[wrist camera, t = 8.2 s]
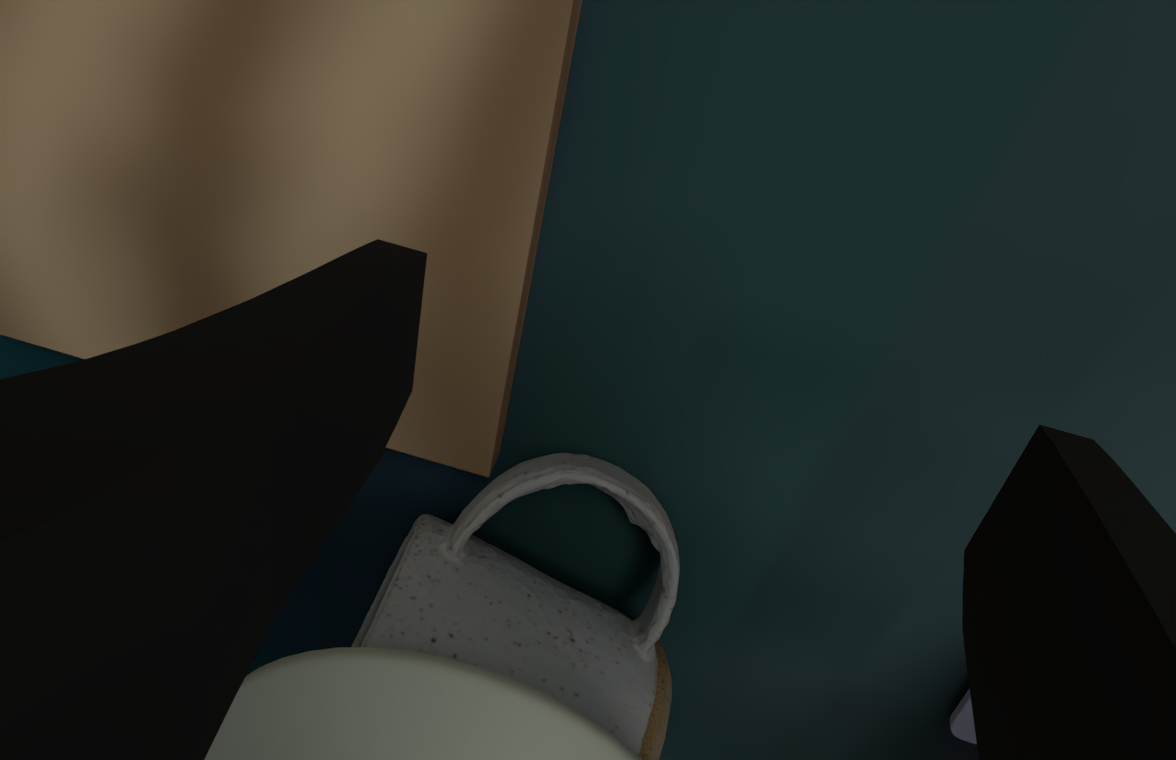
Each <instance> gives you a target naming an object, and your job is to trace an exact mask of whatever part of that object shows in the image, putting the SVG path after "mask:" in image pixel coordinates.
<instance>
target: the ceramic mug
mask: <svg viewBox="0 0 1176 760" xmlns="http://www.w3.org/2000/svg"><path fill="white" fill-rule="evenodd" d="M584 483H587V484H589V485H593V486H595V487H596V488H598V489H600V490H601V491H603V492H605V493H607V494H608V495H610V496H612V497H613V498H614V499H616V500H617V501H618V502H619V503H620V504H621V505H622V506H623V507H624V510H625V512H626V514H627V516H628V518H629V520H630V522H631V523H633V524H636V525H638V526H640V527H641V528H642V529H644V530H645V531H646V532H647V534H648V536H649V538H650V541H651V543H652V544H653V545H654V547H655V548H656V549H657V550H658V551H659V552H660V557H661V563H660V567H659V569H658V574H657V581H656V583H655V586H654V588H653V591H652V593H651V596H650V599H649V601H648V603H647V605H646V607H645V608H644V610H643V612H642V614H641V615H640V616H639V617H638V618H637V619H636V620H633V621H632V620H631V619H629V618H628V617H627V616H625V615H624V614H622V613H621V612H619V611H617V610H616V609H614V608H612V607H610V606H608V605H606V604H604V603H602V602H600V601H598V600H596V599H594V598H592V597H590V596H588V595H586V594H584V593H582V592H580V591H578V590H576V589H574V588H571V587H569V586H567V585H565V584H563V583H561V582H559V581H557V580H555V579H553V578H551V577H549V576H547V575H546V574H544V573H542V572H540V571H539V570H537V569H535V568H533V567H532V566H530V565H528V564H526V563H525V562H523V561H521V560H519V559H517V558H515V557H514V556H512V555H510V554H508V553H506V552H504V551H502V550H501V549H499V548H497V547H495V546H493V545H491V544H488V543H486V542H485V541H483V540H481V539H479V538H478V537H476V536H474V535H472V533H473V532H474V531H476V530H477V529H478V528H480V527H481V526H482V525H483V524H484V522H485V521H486V520H488V519H489V518H490V517H491V516H493V515H494V514H495V513H496V512H497V511H499V510H500V509H501V508H502V507H503V506H505V505H506V504H507V503H509V502H511V501H513V500H514V499H516V498H518V497H521V496H524V495H527V494H530V493H533V492H536V491H538V490H541V489H550V488H554V487H556V486H559V485H561V484H584ZM679 571H680V566H679V554H678V546H677V542H676V539H675V536H674V531H673V528H672V526H671V523H670V521H669V518H668V516H667V513H666V512H665V510H664V509H663V507H662V506H661V504H660V503H659V502H658V500H657V499H656V497H655V496H654V495H653V493H652V492H651V491H650V489H649V488H647V487H646V486H645V485H644V484H643V483H642V482H641V481H639V480H638V479H636V478H635V477H633V476H632V475H630V474H629V473H627V472H626V471H624V470H623V469H621V468H620V467H618V466H615V465H613V464H611V463H608V462H606V461H603V460H601V459H598V458H595V457H593V456H590V455H584V454H575V453H555V454H549V455H545V456H541V457H537V458H533V459H529V460H526V461H524V462H521V463H519V464H517V465H516V466H514V467H512V468H510V469H509V470H507V471H506V472H504V473H503V474H501V475H499V476H498V477H496V478H495V479H494V480H493V481H492V482H491V483H490V484H488V485H487V486H486V487H485V488H484V489H483V490H482V491H481V492H480V493H479V494H478V495H477V496H476V497H475V498H474V499H473V500H472V501H471V502H470V503H469V504H468V506H467V507H466V508H465V509H464V510H463V511H462V512H461V514H460V515H459V517H458V518H457V520H456V522H455V523H454V524H451V523H448V522H446V521H444V520H442V519H440V518H437V517H435V516H432V515H430V514H422V515H421V516H420V517H419V518H417V519H416V521H415V522H414V523H413V526H412V529H411V531H410V532H409V534H408V536H407V537H406V538H405V540H404V542H403V544H402V546H401V548H400V550H399V552H398V554H397V556H396V558H395V560H394V562H393V564H392V565H391V567H390V568H389V570H388V572H387V575H386V578H385V580H384V581H383V583H382V585H381V587H380V589H379V591H378V594H377V596H376V598H375V600H374V602H373V604H372V606H371V608H370V610H369V612H368V614H367V616H366V618H365V620H364V622H363V624H362V627H361V629H360V631H359V633H358V634H357V636H356V638H355V640H354V642H353V644H352V646H351V647H376V648H387V649H399V650H408V651H414V652H420V653H425V654H431V655H436V656H442V657H446V658H450V659H453V660H457V661H461V662H465V663H468V664H472V665H476V666H480V667H482V668H485V669H488V670H491V671H494V672H496V673H499V674H502V675H505V676H508V677H510V678H513V679H516V680H518V681H520V682H523V683H525V684H527V685H529V686H531V687H534V688H536V689H538V690H540V691H542V692H545V693H547V694H549V695H551V696H553V697H555V698H557V699H558V700H560V701H562V702H564V703H566V704H567V705H569V706H571V707H573V708H574V709H576V710H578V711H580V712H582V713H583V714H585V715H586V716H588V717H589V718H591V719H592V720H594V721H595V722H597V723H598V724H599V725H601V726H602V727H604V728H605V729H607V730H608V731H610V732H611V733H613V734H614V735H615V736H616V737H617V738H619V739H620V740H621V741H622V742H623V743H625V744H626V745H627V746H628V747H629V748H631V749H632V750H633V751H634V752H635V753H637V754H638V755H639V756H640V757H641V758H642V759H643V760H659V758H660V754H661V751H662V747H663V743H664V740H665V735H666V729H667V724H668V718H669V712H670V706H671V698H672V687H671V673H670V669H669V665H668V662H667V659H666V655H665V652H664V649H663V647H662V646H661V644H660V643H659V641H658V639H659V638H660V636H661V634H662V632H663V630H664V628H665V627H666V625H667V624H668V623H669V619H670V615H671V612H672V609H673V607H674V605H675V602H676V595H677V588H678V581H679Z"/></svg>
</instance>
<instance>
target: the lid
mask: <svg viewBox="0 0 1176 760" xmlns="http://www.w3.org/2000/svg"><path fill="white" fill-rule="evenodd" d="M204 760H643V759H642V758H641V757H640V756H639V755H638V754H637V753H635V752H634V751H633V750H632V749H631V748H629V747H628V746H627V745H626V744H625V743H623V742H622V741H621V740H620V739H619V738H617V737H616V736H615V735H614V734H613V733H611V732H610V731H608V730H607V729H605V728H604V727H602V726H601V725H599V724H598V723H597V722H595V721H594V720H592V719H591V718H589V717H588V716H586V715H585V714H583V713H582V712H580V711H578V710H576V709H574V708H573V707H571V706H569V705H567V704H566V703H564V702H562V701H560V700H558V699H557V698H555V697H553V696H551V695H549V694H547V693H545V692H542V691H540V690H538V689H536V688H534V687H531V686H529V685H527V684H525V683H523V682H520V681H518V680H516V679H513V678H510V677H508V676H505V675H502V674H499V673H496V672H494V671H491V670H488V669H485V668H482V667H480V666H476V665H472V664H468V663H465V662H461V661H457V660H453V659H450V658H446V657H442V656H436V655H431V654H425V653H420V652H414V651H408V650H399V649H387V648H376V647H338V648H330V649H322V650H314V651H307V652H303V653H299V654H295V655H291V656H287V657H283V658H281V659H278V660H276V661H273V662H271V663H269V664H266V665H264V666H261V667H259V668H258V669H256V670H255V671H253V672H251V673H250V674H248V675H247V676H246V677H245V679H244V681H243V683H242V684H241V686H240V688H239V690H238V692H237V694H236V696H235V698H234V700H233V702H232V704H231V706H230V708H229V710H228V712H227V714H226V716H225V718H224V720H223V723H222V725H221V727H220V729H219V731H218V733H217V735H216V737H215V739H214V741H213V743H212V745H211V747H210V749H209V751H208V753H207V755H206V757H205V759H204Z"/></svg>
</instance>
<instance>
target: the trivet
mask: <svg viewBox="0 0 1176 760" xmlns="http://www.w3.org/2000/svg"><path fill="white" fill-rule="evenodd" d="M581 5H582V0H0V334H1V335H4V336H8V337H11V338H14V339H18V340H21V341H25V342H28V343H31V344H35V345H38V346H42V347H45V348H48V349H52V350H55V351H59V352H62V353H66V354H69V355H72V356H76V357H79V358H83V359H88V358H91V357H94V356H98V355H101V354H104V353H107V352H111V351H114V350H117V349H121V348H124V347H127V346H130V345H134V344H137V343H140V342H142V341H145V340H148V339H151V338H154V337H157V336H160V335H163V334H166V333H168V332H171V331H174V330H177V329H179V328H181V327H184V326H186V325H189V324H191V323H194V322H196V321H199V320H201V319H203V318H206V317H208V316H211V315H213V314H216V313H218V312H221V311H223V310H225V309H228V308H230V307H233V306H235V305H238V304H240V303H243V302H245V301H247V300H250V299H252V298H254V297H256V296H258V295H261V294H263V293H265V292H267V291H269V290H271V289H273V288H276V287H278V286H280V285H282V284H284V283H286V282H288V281H290V280H293V279H295V278H297V277H299V276H301V275H303V274H305V273H307V272H309V271H311V270H313V269H316V268H318V267H320V266H322V265H324V264H326V263H328V262H330V261H332V260H334V259H336V258H338V257H340V256H342V255H344V254H346V253H348V252H350V251H352V250H354V249H357V248H359V247H361V246H363V245H365V244H367V243H370V242H372V241H375V240H377V239H379V240H383V241H386V242H390V243H393V244H397V245H400V246H404V247H408V248H411V249H415V250H418V251H422V252H425V253H427V260H426V270H425V279H424V288H423V298H422V307H421V316H420V325H419V335H418V344H417V353H416V363H415V372H414V381H413V390H412V393H411V395H410V397H409V399H408V401H407V403H406V406H405V408H404V410H403V412H402V414H401V416H400V419H399V421H398V423H397V425H396V427H395V429H394V431H393V433H392V435H391V437H390V439H389V442H388V444H387V446H386V448H390V449H393V450H397V451H400V452H403V453H407V454H410V455H414V456H417V457H421V458H424V459H427V460H431V461H434V462H438V463H441V464H444V465H448V466H451V467H455V468H458V469H462V470H465V471H468V472H472V473H475V474H479V475H482V476H485V477H489V476H490V474H491V472H492V469H493V467H494V465H495V463H496V461H497V458H498V456H499V454H500V449H501V444H502V438H503V433H504V427H505V422H506V416H507V411H508V405H509V400H510V394H511V389H512V383H513V378H514V372H515V367H516V361H517V356H518V350H519V345H520V339H521V334H522V328H523V323H524V317H525V312H526V306H527V301H528V295H529V290H530V284H531V279H532V273H533V268H534V262H535V257H536V252H537V246H538V241H539V235H540V230H541V224H542V219H543V213H544V208H545V202H546V197H547V191H548V186H549V180H550V175H551V169H552V164H553V158H554V153H555V147H556V142H557V136H558V131H559V125H560V120H561V114H562V109H563V103H564V98H565V92H566V87H567V81H568V76H569V70H570V65H571V60H572V54H573V49H574V43H575V38H576V32H577V27H578V21H579V16H580V10H581Z"/></svg>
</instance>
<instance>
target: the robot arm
mask: <svg viewBox="0 0 1176 760" xmlns="http://www.w3.org/2000/svg"><path fill="white" fill-rule="evenodd" d="M426 260H427V253H425V252H422V251H418V250H415V249H411V248H408V247H404V246H400V245H397V244H393V243H390V242H386V241H383V240H379V239H377V240H375V241H372V242H370V243H367V244H365V245H363V246H361V247H359V248H357V249H354V250H352V251H350V252H348V253H346V254H344V255H342V256H340V257H338V258H336V259H334V260H332V261H330V262H328V263H326V264H324V265H322V266H320V267H318V268H316V269H313V270H311V271H309V272H307V273H305V274H303V275H301V276H299V277H297V278H295V279H293V280H290V281H288V282H286V283H284V284H282V285H280V286H278V287H276V288H273V289H271V290H269V291H267V292H265V293H263V294H261V295H258V296H256V297H254V298H252V299H250V300H247V301H245V302H243V303H240V304H238V305H235V306H233V307H230V308H228V309H225V310H223V311H221V312H218V313H216V314H213V315H211V316H208V317H206V318H203V319H201V320H199V321H196V322H194V323H191V324H189V325H186V326H184V327H181V328H179V329H177V330H174V331H171V332H168V333H166V334H163V335H160V336H157V337H154V338H151V339H148V340H145V341H142V342H140V343H137V344H134V345H130V346H127V347H124V348H121V349H117V350H114V351H111V352H107V353H104V354H101V355H98V356H94V357H91V358H88V359H84V360H80V361H77V362H73V363H69V364H65V365H61V366H57V367H52V368H48V369H44V370H39V371H35V372H31V373H26V374H22V375H18V376H13V377H9V378H5V379H0V760H204V759H205V757H206V755H207V753H208V751H209V749H210V747H211V745H212V743H213V741H214V739H215V737H216V735H217V733H218V731H219V729H220V727H221V725H222V723H223V720H224V718H225V716H226V714H227V712H228V710H229V708H230V706H231V704H232V702H233V700H234V698H235V696H236V694H237V692H238V690H239V688H240V686H241V684H242V683H243V681H244V679H245V677H246V675H247V673H248V671H249V669H250V667H251V665H252V663H253V661H254V659H255V657H256V655H257V653H258V651H259V650H260V648H261V646H262V644H263V642H264V640H265V638H266V636H267V634H268V632H269V630H270V628H271V626H272V625H273V623H274V621H275V620H276V618H277V616H278V615H279V613H280V611H281V610H282V608H283V606H284V605H285V603H286V601H287V600H288V598H289V596H290V595H291V593H292V592H293V590H294V589H295V587H296V586H297V584H298V582H299V581H300V579H301V578H302V576H303V575H304V573H305V572H306V570H307V569H308V567H309V566H310V564H311V563H312V561H313V560H314V558H315V557H316V555H317V554H318V552H319V551H320V549H321V548H322V546H323V545H324V543H325V542H326V540H327V539H328V537H329V536H330V534H331V533H332V531H333V530H334V528H335V527H336V525H337V524H338V522H339V521H340V519H341V518H342V516H343V515H344V513H345V512H346V510H347V509H348V507H349V505H350V504H351V502H352V501H353V499H354V498H355V496H356V495H357V493H358V492H359V490H360V489H361V487H362V486H363V484H364V482H365V481H366V479H367V478H368V476H369V475H370V473H371V472H372V470H373V469H374V467H375V465H376V464H377V462H378V461H379V459H380V458H381V456H382V454H383V452H384V450H385V448H386V446H387V444H388V442H389V439H390V437H391V435H392V433H393V431H394V429H395V427H396V425H397V423H398V421H399V419H400V416H401V414H402V412H403V410H404V408H405V406H406V403H407V401H408V399H409V397H410V395H411V393H412V390H413V381H414V372H415V363H416V353H417V344H418V335H419V325H420V316H421V307H422V298H423V288H424V279H425V270H426ZM963 636H964V646H965V655H966V663H967V671H968V680H969V690H968V691H967V693H966V694H965V696H964V697H963V699H962V700H961V701H960V703H959V704H958V706H957V707H956V709H955V710H954V712H953V713H952V715H951V717H950V729H951V732H952V734H953V735H954V736H955V737H957V738H959V739H961V740H964V741H967V742H970V743H974V744H977V750H978V757H979V760H1176V534H1175V532H1174V531H1173V530H1172V529H1171V528H1170V527H1169V525H1168V524H1167V523H1166V522H1165V521H1164V519H1163V518H1162V517H1161V516H1160V515H1159V513H1158V512H1157V511H1156V510H1155V509H1154V507H1153V506H1152V505H1151V504H1150V503H1149V501H1148V500H1147V499H1146V498H1145V497H1144V495H1143V494H1142V493H1141V492H1140V491H1139V489H1138V488H1137V487H1136V486H1135V485H1134V484H1133V482H1132V481H1131V480H1130V479H1129V478H1128V477H1127V475H1126V474H1125V473H1124V472H1123V471H1122V470H1121V468H1120V467H1119V466H1118V465H1117V464H1116V463H1115V462H1114V460H1113V459H1112V458H1111V457H1110V456H1109V455H1108V454H1107V453H1106V452H1105V451H1104V450H1103V449H1102V448H1101V447H1100V446H1099V445H1098V444H1097V443H1096V442H1095V441H1094V440H1092V439H1089V438H1085V437H1082V436H1078V435H1074V434H1071V433H1067V432H1064V431H1060V430H1057V429H1053V428H1049V427H1046V426H1042V425H1039V426H1038V428H1037V430H1036V431H1035V433H1034V435H1033V436H1032V438H1031V440H1030V441H1029V443H1028V445H1027V446H1026V448H1025V450H1024V451H1023V453H1022V455H1021V456H1020V458H1019V460H1018V461H1017V463H1016V465H1015V466H1014V468H1013V470H1012V471H1011V473H1010V475H1009V476H1008V478H1007V480H1006V482H1005V483H1004V485H1003V487H1002V488H1001V490H1000V492H999V493H998V495H997V497H996V498H995V500H994V502H993V503H992V505H991V507H990V508H989V510H988V512H987V513H986V515H985V517H984V518H983V520H982V522H981V523H980V525H979V527H978V528H977V530H976V532H975V533H974V535H973V537H972V539H971V540H970V542H969V544H968V545H967V547H966V549H965V553H964V577H963Z"/></svg>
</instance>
